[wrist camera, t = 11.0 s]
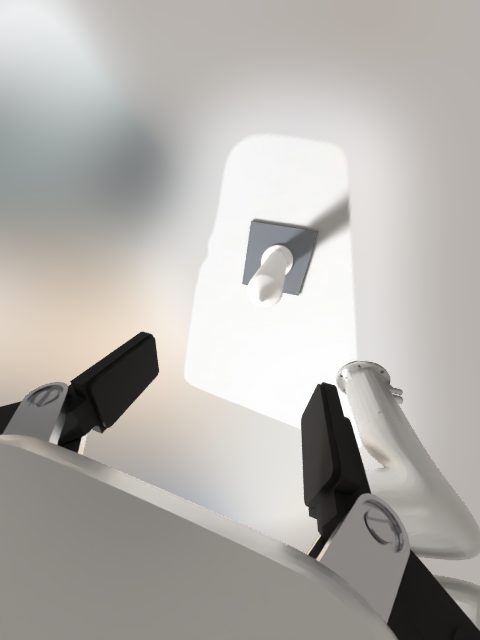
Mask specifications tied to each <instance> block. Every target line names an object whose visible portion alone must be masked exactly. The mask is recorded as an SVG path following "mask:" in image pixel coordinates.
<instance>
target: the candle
mask: <svg viewBox="0 0 480 640" xmlns="http://www.w3.org/2000/svg"><path fill="white" fill-rule="evenodd" d="M292 265H293V256H292V253H291V252H290V250H289V249H288V248H287V247H285V246H282V245H274V246H271V247H269V248H268V249H267V250H266V251H265V252H264V253H263V255H262V259H261V267H260V268H259V269H258V271H257V272H256V273H255V275H254V276H253V277H252V279H251V280H250V282H249V283H248V286H247V294H248V297H249V299H250V301H251V302H252V303H253V304H254V305H256V306H258V307H261V308H269V307H272V306H274V305H275V304H277V303H278V302H279V300H280V299H281V297H282V293H283V286H284V279H285V275H286V274H287V273H288V272H289V271H290V270H291V268H292Z"/></svg>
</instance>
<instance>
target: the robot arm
mask: <svg viewBox="0 0 480 640" xmlns="http://www.w3.org/2000/svg"><path fill="white" fill-rule="evenodd" d="M158 373H159V367H158V360H157V351H156V343H155V338H154V337H153V335H152V334H149V333H145V332H140V333H139V334H137V335H136V336H135V337H133V338H132V339H130V340H129V341H127V342H126V343H125V344H123V345H122V346H120V347H119V348H117V349H116V350H115V351H113V352H112V353H110V354H109V355H107V356H106V357H105V358H103V359H102V360H100V361H99V362H97V363H96V364H95V365H93V366H92V367H90V368H89V369H87V370H86V371H85V372H83V373H82V374H80V375H79V376H77V377H76V378H75V379H73V380H72V381H70V382H71V385H69V386H67V384H65V383H61V382H54V383H49V384H45V385H43V386H41V387H38V388H36V389H35V390H33V391H31V392H30V393H29V394H28V395H26V396H25V398H24V399H23V400H22V401H21V402H17V403H14V404H10V405H6V406H2V407H0V640H480V586H478V585H476V584H473V583H471V582H467V581H464V580H460V579H455V578H450V577H444V576H438V575H432V574H431V572H430V571H429V570H428V569H427V568H426V567H425V565H424V564H423V563H422V562H421V561H420V560H419V558H418V557H425V558H435V559H445V560H464V559H470V558H474V557H476V556H477V555H478V554H480V528H479V526H478V524H477V522H476V521H475V519H474V518H473V515H472V514H471V512H470V511H469V509H468V508H467V506H466V505H465V504H464V502H463V501H462V500H461V498H460V497H459V496H458V494H457V493H456V492H455V490H454V489H453V488H452V486H451V485H450V484H449V482H448V481H447V480H446V479H445V477H444V476H443V475H442V473H441V472H440V470H439V469H438V468H437V466H436V465H435V463H434V462H433V461H432V459H431V458H430V456H429V454H428V453H427V451H426V450H425V448H424V447H423V445H422V443H421V442H420V440H419V438H418V437H417V435H416V433H415V432H414V430H413V429H412V427H411V425H410V423H409V422H408V420H407V418H406V417H405V415H404V413H403V411H402V410H401V408H400V406H399V405H398V403H399V404H402V402H403V399H402V397H401V396H397V395H394V394H392V393H395V394H399V395H402V390H400V389H396V388H393V387H392V386H391V385H390V376H389V374H388V373H387V371H386V370H385V369H384V368H383V367H382V366H380V365H378V364H376V363H372V362H366V361H359V362H354V363H350V364H348V365H346V366H344V367H343V368H341V370H340V371H339V372H338V374H337V376H336V381H337V385H338V387H339V388H340V390H341V391H342V392H344V393H345V394H347V397H348V400H349V403H350V406H351V410H352V413H353V416H354V419H355V422H356V425H357V428H358V432H359V435H360V438H361V441H362V443H363V445H364V447H365V449H366V450H367V451H368V452H369V454H370V455H371V456H372V457H373V458H375V459H376V460H377V461H378V462H379V463H381V464H382V465H383V466H384V468H379V469H374V470H365V469H364V466H363V463H362V459H361V456H360V452H359V449H358V445H357V442H356V439H355V435H354V432H353V428H352V425H351V422H350V420H349V419H348V418H346V417H344V414H343V411H342V407H341V403H340V399H339V396H338V392H337V388H336V386H335V385H331V384H328V383H324V382H323V383H322V384H321V385H320V384H318V385H317V387H316V389H315V391H314V393H313V395H312V397H311V399H310V401H309V403H308V405H307V407H306V409H305V411H304V413H303V415H302V419H301V431H302V455H303V482H304V501H305V505H306V506H308V507H309V516H310V517H313V518H315V519H317V524H318V532H319V533H320V534H319V536H318V538H317V539H316V540H315V542H314V543H313V545H312V546H311V548H310V549H309V551H308V552H307V554H305V553H303V552H301V551H299V550H297V549H295V548H293V547H291V546H289V545H287V544H285V543H283V542H281V541H278V540H276V539H274V538H272V537H270V536H268V535H265V534H263V533H261V532H259V531H257V530H255V529H252V528H250V527H248V526H246V525H243V524H241V523H239V522H236V521H234V520H232V519H229V518H227V517H225V516H223V515H220V514H218V513H216V512H214V511H211V510H209V509H207V508H204V507H202V506H199V505H197V504H195V503H193V502H191V501H188V500H186V499H183V498H181V497H179V496H177V495H174V494H172V493H170V492H167V491H165V490H163V489H160V488H158V487H155V486H154V485H151V484H149V483H147V482H144V481H142V480H139V479H137V478H135V477H133V476H130V475H128V474H126V473H123V472H121V471H118V470H116V469H114V468H111V467H109V466H107V465H104V464H102V463H100V462H97V461H95V460H93V459H90V458H88V457H85V456H83V452H84V447H85V443H86V438H87V434H88V432H89V431H90V430H91V429H93V430H95V431H97V432H100V433H103V432H104V430H106V428H109V427H111V426H112V425H113V424H114V423H115V422H116V421H117V420H118V418H119V417H120V416H121V415H122V414H123V413H124V412H125V410H127V408H128V407H129V406H130V405H131V404H132V403H133V402H134V401H135V400H136V399H137V397H138V396H139V395H140V394H141V393H142V392H143V391H144V390H145V389H146V388H147V386H148V385H149V384H150V383H151V382H152V381H153V380H154V379H155V378H156V376H157V375H158Z"/></svg>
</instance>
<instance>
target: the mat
mask: <svg viewBox="0 0 480 640" xmlns="http://www.w3.org/2000/svg"><path fill="white" fill-rule="evenodd" d="M317 234H318V231H312V230H305V229H298V228H292V227H285V226H279V225H272V224H266V223H259V222H252V221H251V226H250V233H249V241H248V248H247V255H246V262H245V269H244V276H243V283H242V284H245V285H248V283H249V282H250V280H251V279H252V277H253V276H254V275H255V273H256V272H257V271H258V269H259V268H260V267H261V259H262V255H263V253H264V252H265V251H266V250H267V249H268V248H269V247H271V246H274V245H282V246H285V247H287V248H288V249H289V250H290V252H291V253H292V256H293V265H292V268H291V270H290V271H289V272H288V273H287V274H286V275H285V279H284V286H283V292H284V293H288V294H293V295H299V292H300V289H301V285H302V282H303V279H304V276H305V273H306V269H307V266H308V263H309V260H310V256H311V253H312V250H313V247H314V243H315V240H316V237H317Z"/></svg>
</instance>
